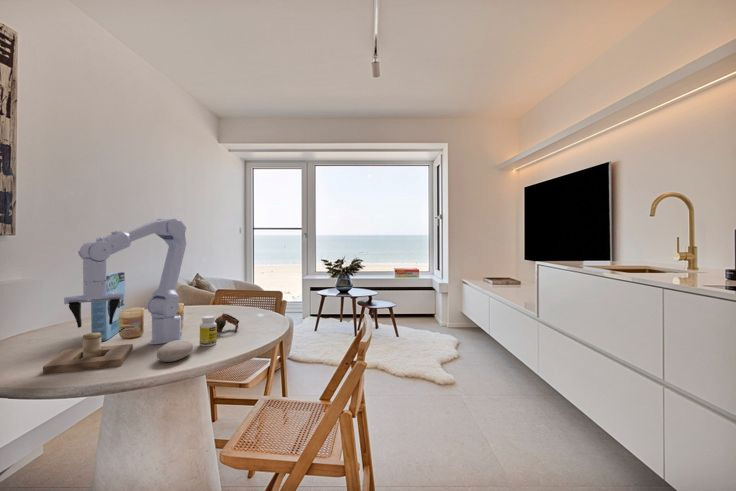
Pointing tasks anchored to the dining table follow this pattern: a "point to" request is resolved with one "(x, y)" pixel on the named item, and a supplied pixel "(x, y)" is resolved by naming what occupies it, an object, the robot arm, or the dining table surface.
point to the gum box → (108, 308)
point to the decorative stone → (174, 350)
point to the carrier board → (88, 359)
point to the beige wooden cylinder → (92, 345)
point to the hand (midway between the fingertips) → (95, 325)
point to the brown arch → (222, 322)
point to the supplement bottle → (208, 331)
